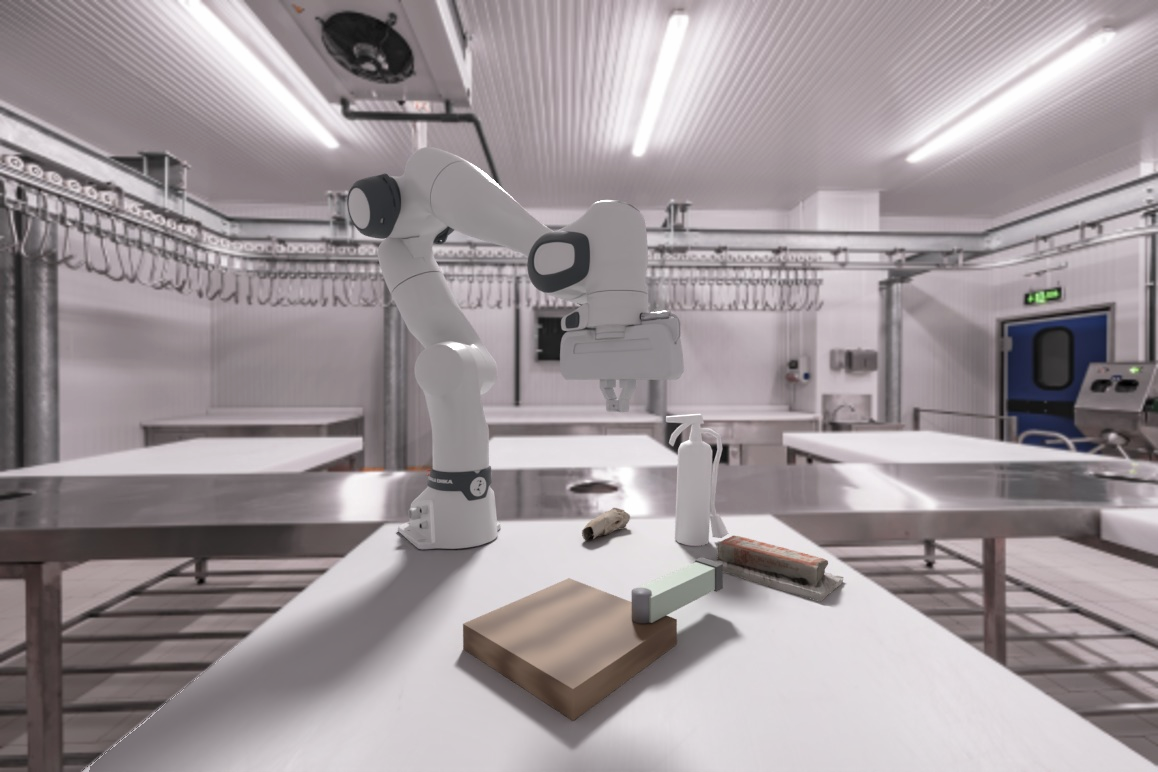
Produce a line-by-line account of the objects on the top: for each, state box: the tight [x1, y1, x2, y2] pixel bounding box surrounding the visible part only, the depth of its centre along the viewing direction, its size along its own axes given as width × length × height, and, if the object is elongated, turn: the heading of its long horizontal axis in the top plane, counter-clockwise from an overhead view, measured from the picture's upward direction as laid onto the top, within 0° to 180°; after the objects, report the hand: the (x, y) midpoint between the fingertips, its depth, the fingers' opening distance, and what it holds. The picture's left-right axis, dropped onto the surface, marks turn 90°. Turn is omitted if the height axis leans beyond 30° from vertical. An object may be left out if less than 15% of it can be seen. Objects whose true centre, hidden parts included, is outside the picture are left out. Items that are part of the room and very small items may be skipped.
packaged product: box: [711, 535, 844, 602], centre depth 80 cm, size 18×5×10 cm
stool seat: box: [462, 577, 678, 722], centre depth 58 cm, size 18×18×3 cm
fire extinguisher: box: [665, 413, 729, 547], centre depth 96 cm, size 7×12×25 cm, turn 83°
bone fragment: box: [581, 507, 631, 542], centre depth 101 cm, size 14×6×5 cm, turn 144°
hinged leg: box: [631, 556, 724, 623], centre depth 63 cm, size 16×3×3 cm, turn 132°
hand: (617, 411), depth 71 cm, fingers closed
